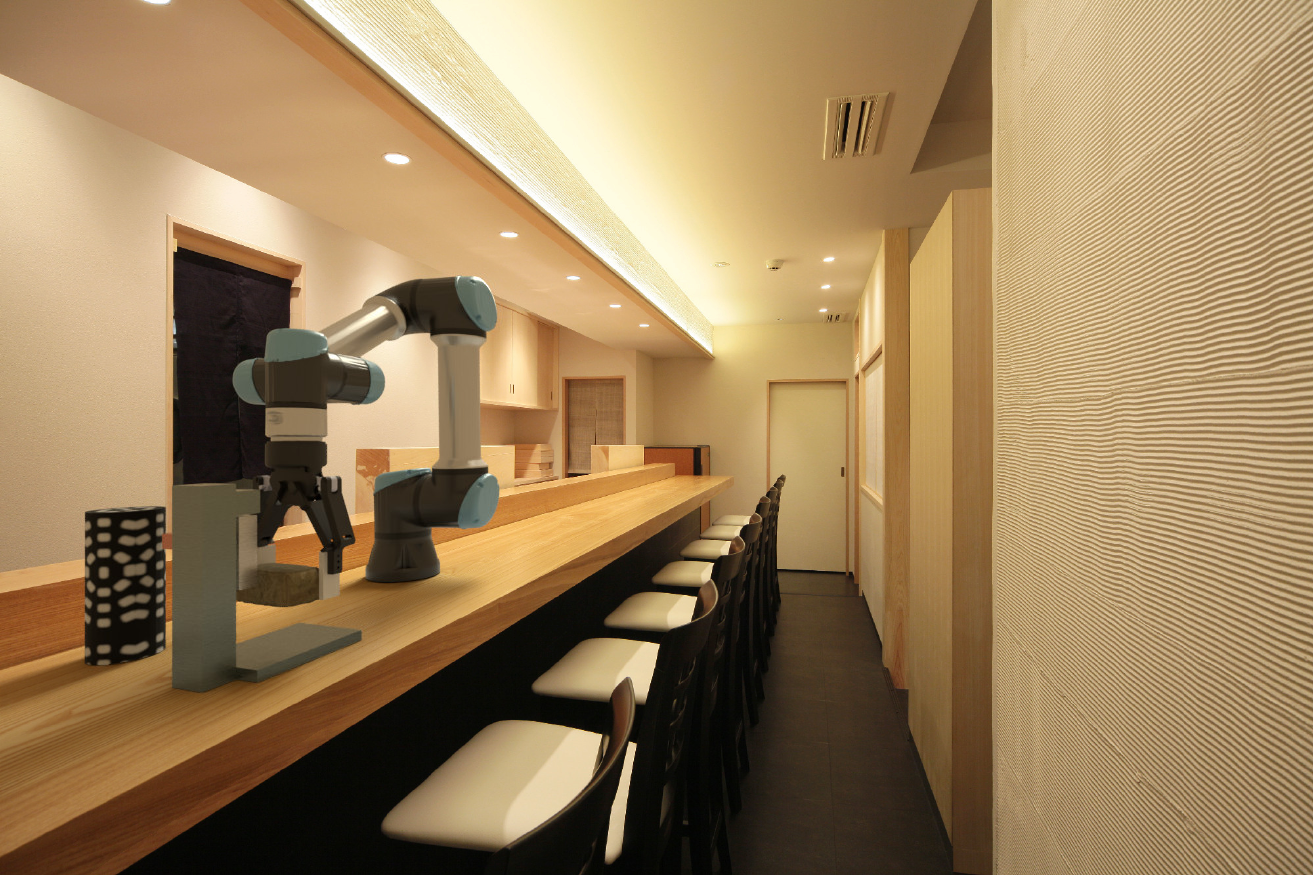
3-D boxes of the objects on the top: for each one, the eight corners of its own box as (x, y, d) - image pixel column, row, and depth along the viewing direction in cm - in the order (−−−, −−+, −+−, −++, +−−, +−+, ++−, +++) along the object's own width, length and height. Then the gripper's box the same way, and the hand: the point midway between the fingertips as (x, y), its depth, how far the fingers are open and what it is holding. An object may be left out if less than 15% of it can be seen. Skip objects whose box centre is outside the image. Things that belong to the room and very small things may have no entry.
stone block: (286, 611, 75) (286, 572, 75) (226, 604, 79) (226, 567, 79) (326, 600, 80) (326, 564, 80) (268, 594, 84) (268, 559, 84)
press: (299, 632, 89) (299, 475, 90) (361, 639, 86) (361, 476, 86) (151, 684, 70) (152, 485, 71) (223, 696, 67) (223, 486, 67)
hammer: (191, 578, 80) (191, 511, 80) (261, 584, 76) (261, 514, 76) (162, 584, 77) (162, 514, 77) (234, 591, 73) (234, 517, 73)
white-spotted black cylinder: (139, 663, 77) (139, 512, 78) (66, 667, 76) (67, 513, 76) (179, 642, 85) (179, 505, 86) (115, 645, 84) (115, 507, 84)
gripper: (209, 440, 83) (208, 595, 82) (340, 438, 75) (340, 608, 75) (260, 440, 90) (259, 583, 90) (384, 439, 83) (384, 593, 82)
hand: (296, 594), depth 82 cm, fingers closed on stone block, 11 cm apart
